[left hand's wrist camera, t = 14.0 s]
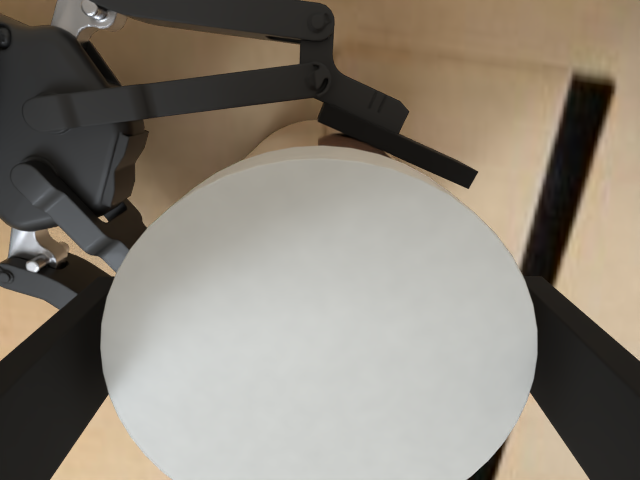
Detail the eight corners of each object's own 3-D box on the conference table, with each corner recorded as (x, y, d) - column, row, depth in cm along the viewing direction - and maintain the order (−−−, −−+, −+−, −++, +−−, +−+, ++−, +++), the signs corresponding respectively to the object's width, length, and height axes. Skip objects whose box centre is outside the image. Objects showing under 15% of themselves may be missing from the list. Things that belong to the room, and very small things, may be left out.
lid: (572, 210, 11) (622, 236, 9) (425, 498, 15) (440, 558, 13) (165, 91, 10) (130, 91, 8) (112, 430, 14) (79, 485, 12)
